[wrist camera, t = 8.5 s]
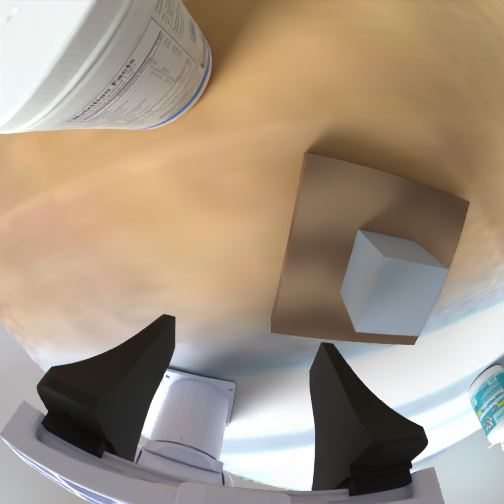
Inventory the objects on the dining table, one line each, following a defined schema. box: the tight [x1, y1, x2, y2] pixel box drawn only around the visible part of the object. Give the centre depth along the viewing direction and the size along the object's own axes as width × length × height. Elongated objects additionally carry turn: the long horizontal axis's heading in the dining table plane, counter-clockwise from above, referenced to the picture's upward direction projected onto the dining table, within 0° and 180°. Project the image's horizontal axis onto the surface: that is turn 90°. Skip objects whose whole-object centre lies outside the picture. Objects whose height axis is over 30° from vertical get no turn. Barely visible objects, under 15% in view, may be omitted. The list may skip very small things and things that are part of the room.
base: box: [271, 153, 470, 345], centre depth 20 cm, size 14×14×2 cm
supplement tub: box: [0, 0, 212, 134], centre depth 10 cm, size 10×10×15 cm
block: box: [340, 229, 449, 336], centre depth 17 cm, size 5×5×5 cm
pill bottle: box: [468, 365, 504, 451], centre depth 20 cm, size 8×7×14 cm
